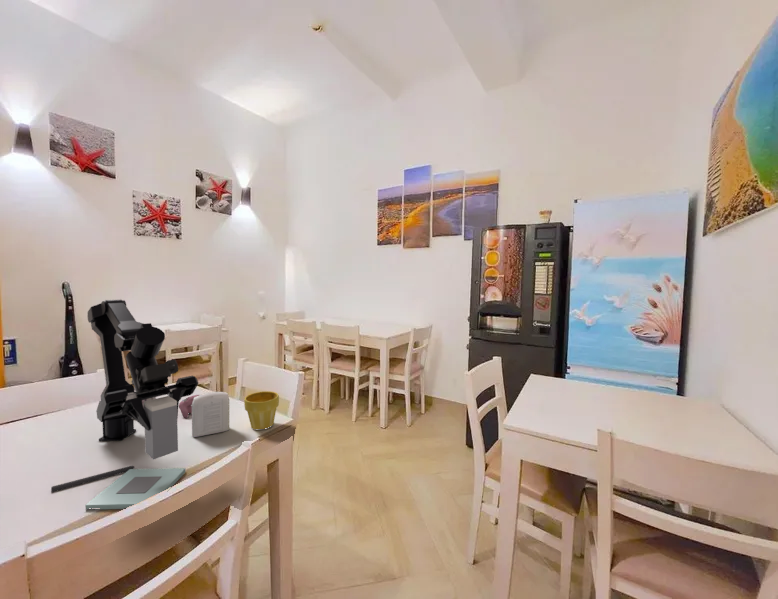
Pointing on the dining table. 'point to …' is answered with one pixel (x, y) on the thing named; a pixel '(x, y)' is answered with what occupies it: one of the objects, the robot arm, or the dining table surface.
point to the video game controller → (186, 405)
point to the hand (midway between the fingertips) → (163, 425)
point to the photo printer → (210, 413)
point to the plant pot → (261, 408)
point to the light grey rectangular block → (161, 427)
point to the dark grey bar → (90, 478)
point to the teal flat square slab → (135, 487)
